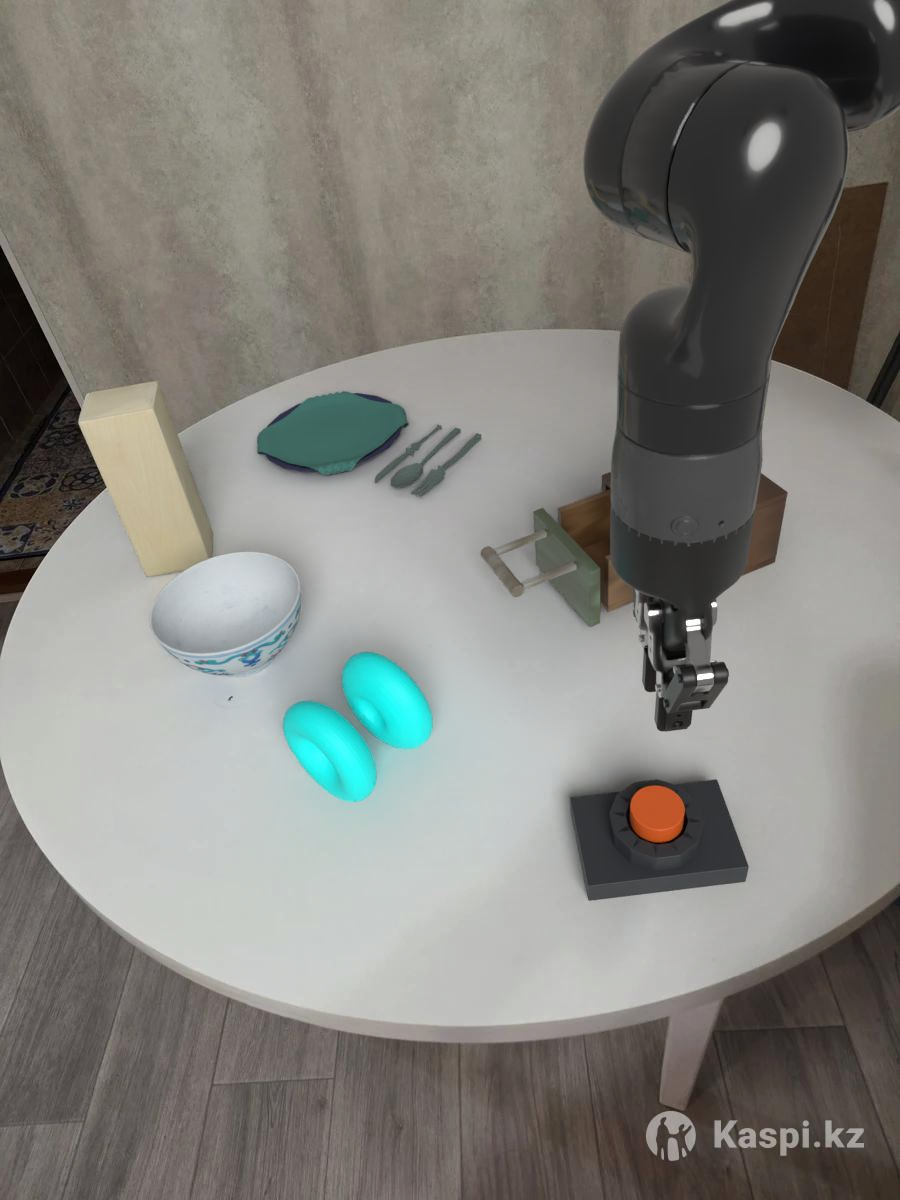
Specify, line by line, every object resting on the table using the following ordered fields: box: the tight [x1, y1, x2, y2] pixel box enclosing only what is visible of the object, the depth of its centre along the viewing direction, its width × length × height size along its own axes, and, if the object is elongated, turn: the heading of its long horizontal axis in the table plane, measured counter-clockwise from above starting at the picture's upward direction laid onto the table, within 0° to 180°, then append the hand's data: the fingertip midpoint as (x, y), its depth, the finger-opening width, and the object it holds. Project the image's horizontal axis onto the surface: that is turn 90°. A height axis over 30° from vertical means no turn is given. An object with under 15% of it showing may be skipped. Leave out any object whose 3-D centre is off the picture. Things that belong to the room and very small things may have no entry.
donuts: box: [282, 651, 434, 803], centre depth 75 cm, size 10×10×10 cm
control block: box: [569, 778, 750, 902], centre depth 67 cm, size 12×8×4 cm, turn 94°
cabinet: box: [601, 471, 789, 577], centre depth 91 cm, size 14×13×9 cm
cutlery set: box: [256, 390, 482, 498], centre depth 117 cm, size 20×30×2 cm, turn 55°
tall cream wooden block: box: [77, 380, 214, 578], centre depth 98 cm, size 8×7×21 cm
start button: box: [630, 785, 685, 843], centre depth 66 cm, size 4×4×2 cm
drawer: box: [479, 489, 634, 628], centre depth 88 cm, size 20×11×7 cm, turn 114°
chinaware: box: [148, 551, 302, 678], centre depth 88 cm, size 15×15×8 cm
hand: (665, 704), depth 57 cm, fingers open, 3 cm apart
